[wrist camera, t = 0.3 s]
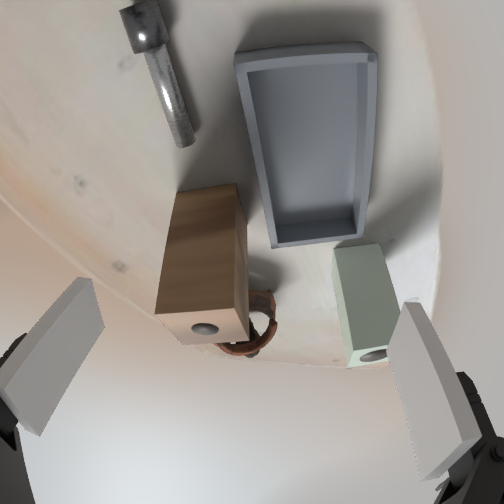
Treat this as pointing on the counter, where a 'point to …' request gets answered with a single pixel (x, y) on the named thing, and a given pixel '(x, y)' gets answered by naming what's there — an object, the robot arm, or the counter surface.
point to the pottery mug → (250, 348)
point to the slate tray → (311, 137)
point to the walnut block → (206, 268)
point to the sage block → (364, 303)
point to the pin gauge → (158, 64)
